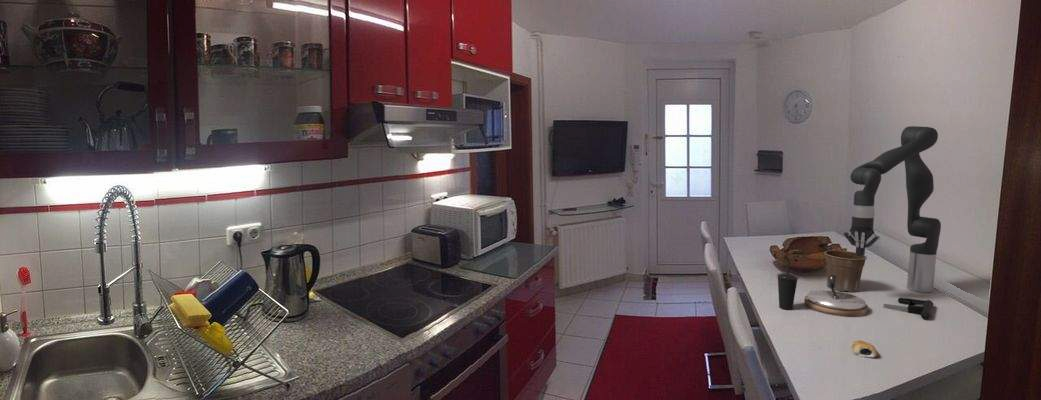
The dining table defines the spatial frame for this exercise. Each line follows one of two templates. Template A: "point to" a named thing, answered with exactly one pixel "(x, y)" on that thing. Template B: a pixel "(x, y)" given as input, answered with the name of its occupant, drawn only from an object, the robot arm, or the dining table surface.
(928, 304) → the door handle
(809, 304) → the dial base
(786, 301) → the drinking cup
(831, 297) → the dial
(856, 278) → the plant pot
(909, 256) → the robot arm
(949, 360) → the dining table surface
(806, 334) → the dining table surface
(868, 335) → the dining table surface
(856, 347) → the pastry
